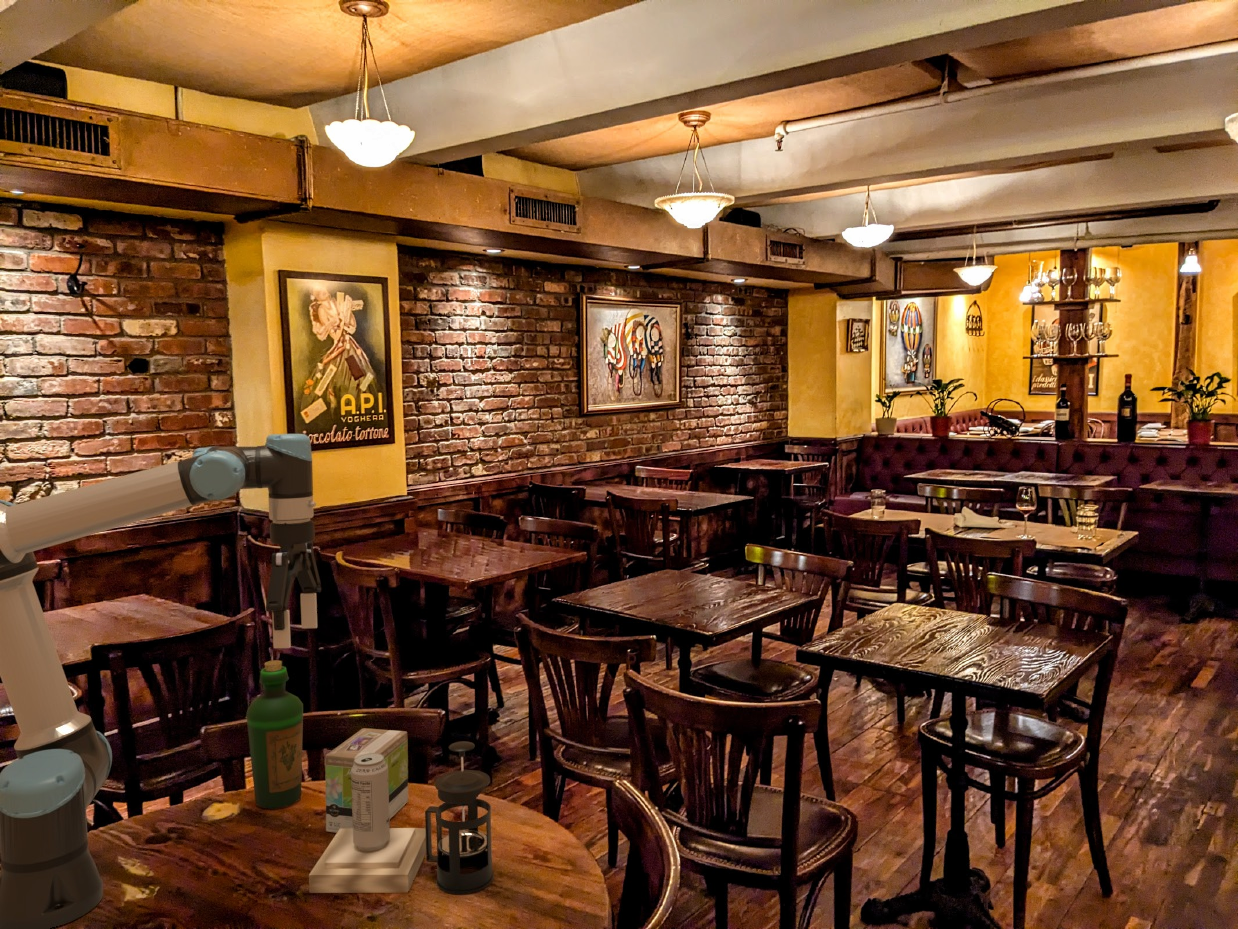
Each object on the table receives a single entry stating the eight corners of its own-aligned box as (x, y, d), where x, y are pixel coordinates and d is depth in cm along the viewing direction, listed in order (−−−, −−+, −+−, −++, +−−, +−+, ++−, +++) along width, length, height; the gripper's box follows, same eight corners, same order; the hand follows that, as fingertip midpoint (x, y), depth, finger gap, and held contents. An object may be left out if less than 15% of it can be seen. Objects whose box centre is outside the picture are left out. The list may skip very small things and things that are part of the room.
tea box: (375, 838, 168) (372, 758, 167) (324, 833, 170) (321, 755, 169) (410, 802, 183) (408, 729, 182) (363, 798, 185) (360, 726, 184)
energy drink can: (396, 844, 157) (394, 758, 156) (364, 857, 153) (361, 768, 152) (378, 832, 161) (376, 748, 160) (346, 844, 157) (343, 758, 156)
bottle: (296, 813, 178) (291, 670, 176) (241, 813, 178) (234, 671, 176) (314, 789, 189) (309, 654, 187) (262, 790, 189) (256, 655, 187)
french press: (504, 868, 157) (502, 735, 155) (486, 898, 147) (483, 757, 146) (439, 862, 159) (435, 731, 157) (417, 891, 150) (413, 752, 148)
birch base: (309, 892, 149) (308, 869, 149) (340, 844, 165) (339, 823, 165) (408, 892, 149) (407, 868, 149) (429, 844, 165) (429, 822, 165)
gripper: (286, 530, 153) (291, 656, 154) (335, 511, 177) (339, 620, 179) (241, 530, 153) (246, 657, 154) (296, 511, 178) (300, 620, 179)
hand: (296, 637), depth 167 cm, fingers open, 13 cm apart
